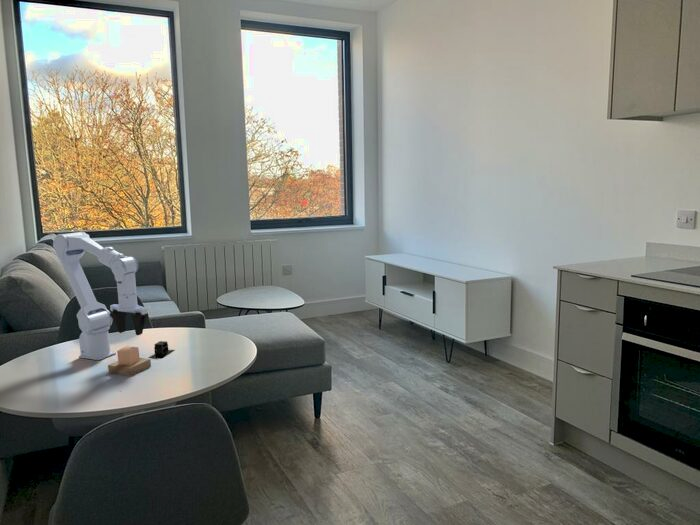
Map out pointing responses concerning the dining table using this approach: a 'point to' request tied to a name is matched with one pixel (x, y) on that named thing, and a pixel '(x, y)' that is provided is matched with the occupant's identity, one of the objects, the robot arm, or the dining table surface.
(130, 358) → the terracotta cube
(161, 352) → the black slotted bracket
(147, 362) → the walnut slab
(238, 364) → the dining table surface
